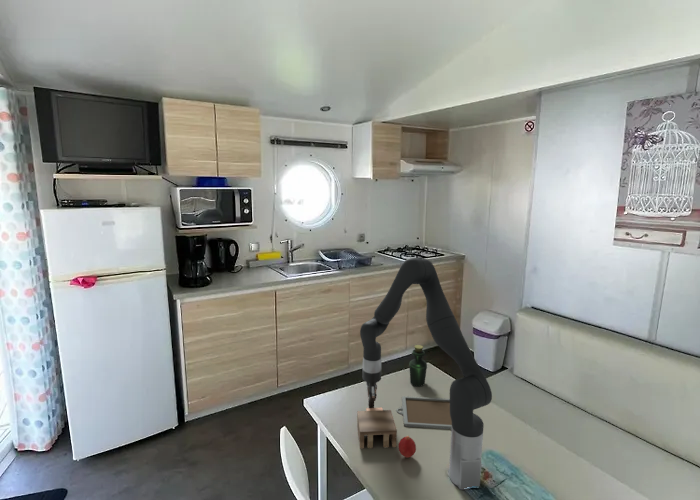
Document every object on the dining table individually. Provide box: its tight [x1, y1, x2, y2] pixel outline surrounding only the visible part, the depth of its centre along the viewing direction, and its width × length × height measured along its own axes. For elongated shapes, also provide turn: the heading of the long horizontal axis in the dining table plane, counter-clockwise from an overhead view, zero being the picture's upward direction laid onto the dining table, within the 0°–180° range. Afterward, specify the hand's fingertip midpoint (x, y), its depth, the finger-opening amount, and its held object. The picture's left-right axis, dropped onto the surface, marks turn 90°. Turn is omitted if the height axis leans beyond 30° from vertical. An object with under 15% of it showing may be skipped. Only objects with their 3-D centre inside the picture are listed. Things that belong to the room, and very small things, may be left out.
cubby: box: [356, 409, 398, 449], centre depth 134 cm, size 12×13×6 cm
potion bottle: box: [408, 344, 428, 388], centre depth 170 cm, size 8×8×18 cm
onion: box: [397, 435, 417, 459], centre depth 123 cm, size 6×6×8 cm
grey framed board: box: [395, 395, 452, 430], centre depth 148 cm, size 19×2×30 cm
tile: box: [365, 407, 384, 411], centre depth 143 cm, size 13×6×2 cm, turn 4°
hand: (371, 407), depth 150 cm, fingers closed
